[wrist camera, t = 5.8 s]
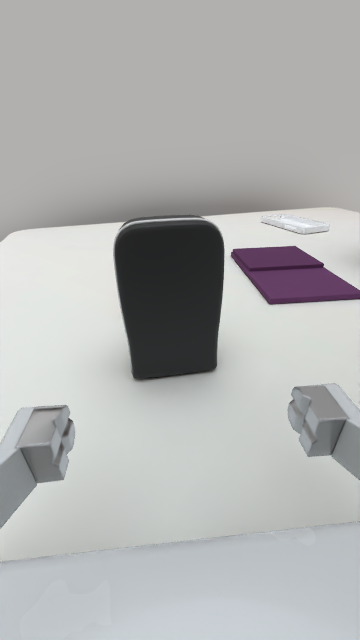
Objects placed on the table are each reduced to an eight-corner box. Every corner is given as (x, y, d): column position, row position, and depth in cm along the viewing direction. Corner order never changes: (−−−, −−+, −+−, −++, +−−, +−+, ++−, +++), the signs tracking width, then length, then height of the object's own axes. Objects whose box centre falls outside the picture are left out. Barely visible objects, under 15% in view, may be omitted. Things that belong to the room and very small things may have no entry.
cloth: (294, 252, 48) (295, 245, 47) (362, 298, 32) (366, 288, 32) (230, 256, 47) (231, 248, 46) (269, 304, 32) (271, 294, 31)
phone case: (329, 230, 61) (284, 219, 73) (331, 224, 60) (284, 213, 72) (302, 234, 58) (260, 221, 70) (303, 227, 58) (260, 216, 70)
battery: (208, 344, 25) (213, 208, 19) (220, 371, 22) (230, 218, 16) (130, 352, 24) (110, 213, 19) (130, 382, 21) (106, 225, 15)
